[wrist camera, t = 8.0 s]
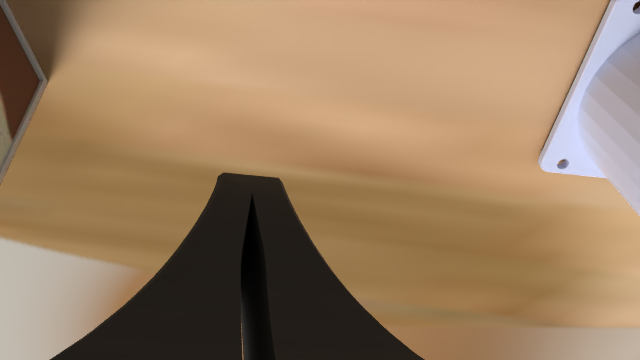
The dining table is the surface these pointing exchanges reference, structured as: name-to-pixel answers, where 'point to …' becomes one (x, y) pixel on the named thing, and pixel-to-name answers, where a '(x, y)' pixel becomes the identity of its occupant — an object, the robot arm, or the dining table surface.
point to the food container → (16, 86)
